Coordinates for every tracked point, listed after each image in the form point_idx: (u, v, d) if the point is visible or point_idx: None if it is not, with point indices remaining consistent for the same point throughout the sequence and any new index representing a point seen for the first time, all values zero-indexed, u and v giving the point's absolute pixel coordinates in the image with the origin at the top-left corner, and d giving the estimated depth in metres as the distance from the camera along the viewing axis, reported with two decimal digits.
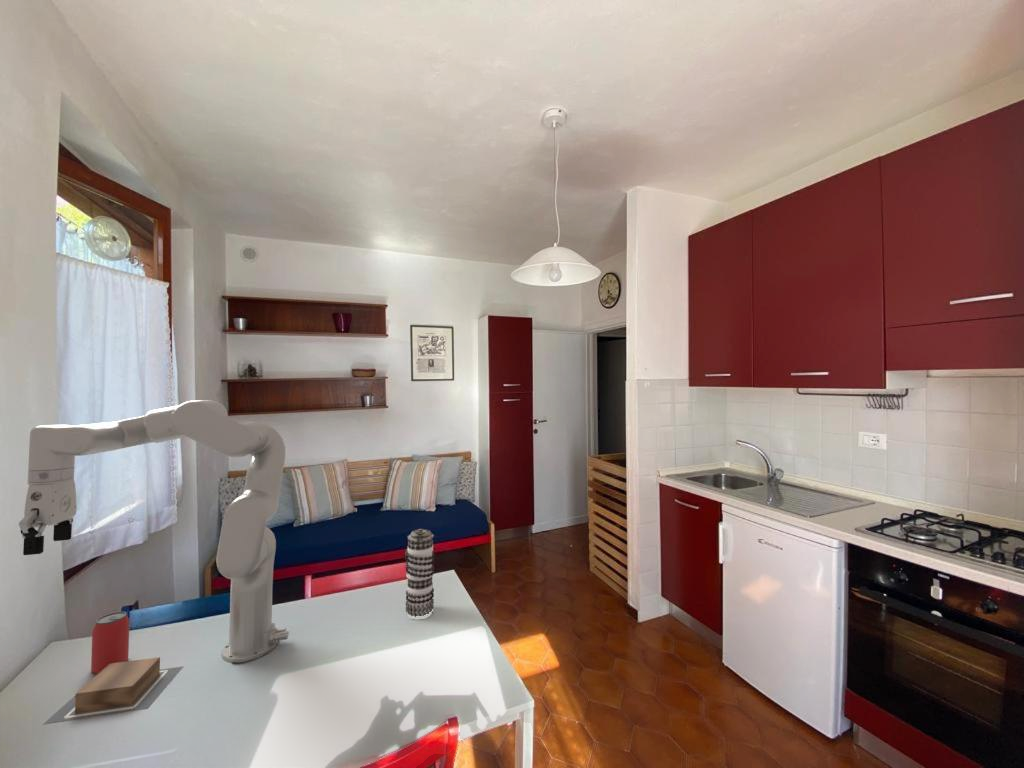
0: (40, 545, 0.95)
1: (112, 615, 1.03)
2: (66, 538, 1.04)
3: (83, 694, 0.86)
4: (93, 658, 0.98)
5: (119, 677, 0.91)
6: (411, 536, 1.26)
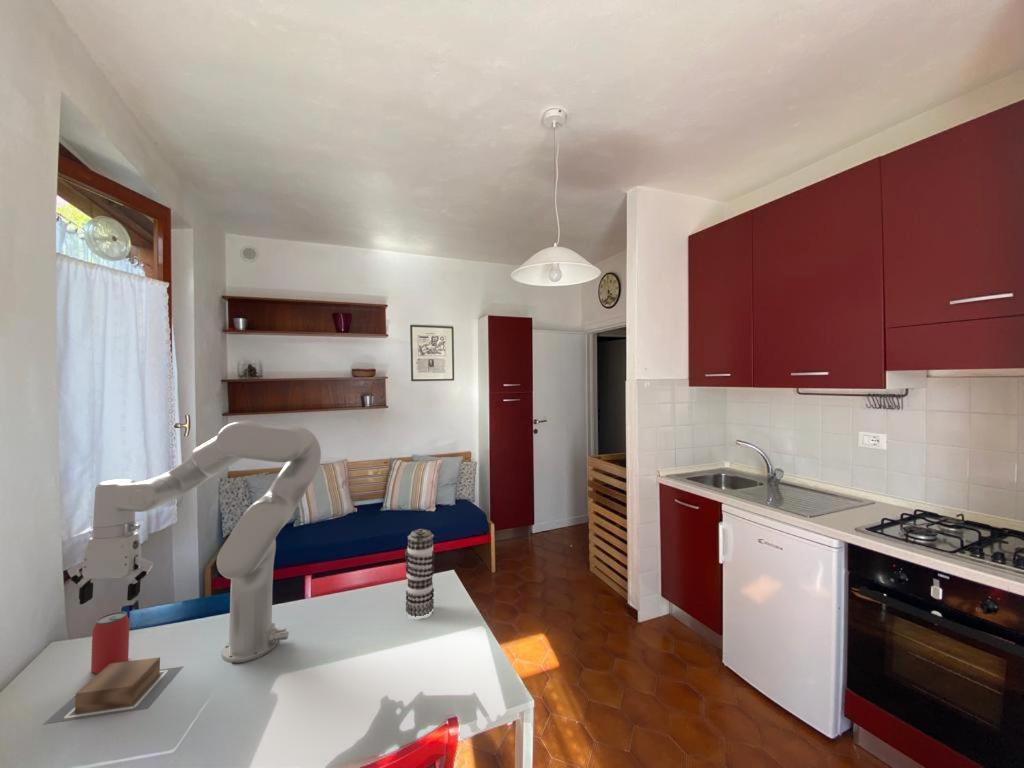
0: None
1: (112, 615, 1.03)
2: (91, 597, 1.02)
3: (83, 694, 0.86)
4: (93, 658, 0.98)
5: (119, 677, 0.91)
6: (411, 536, 1.26)
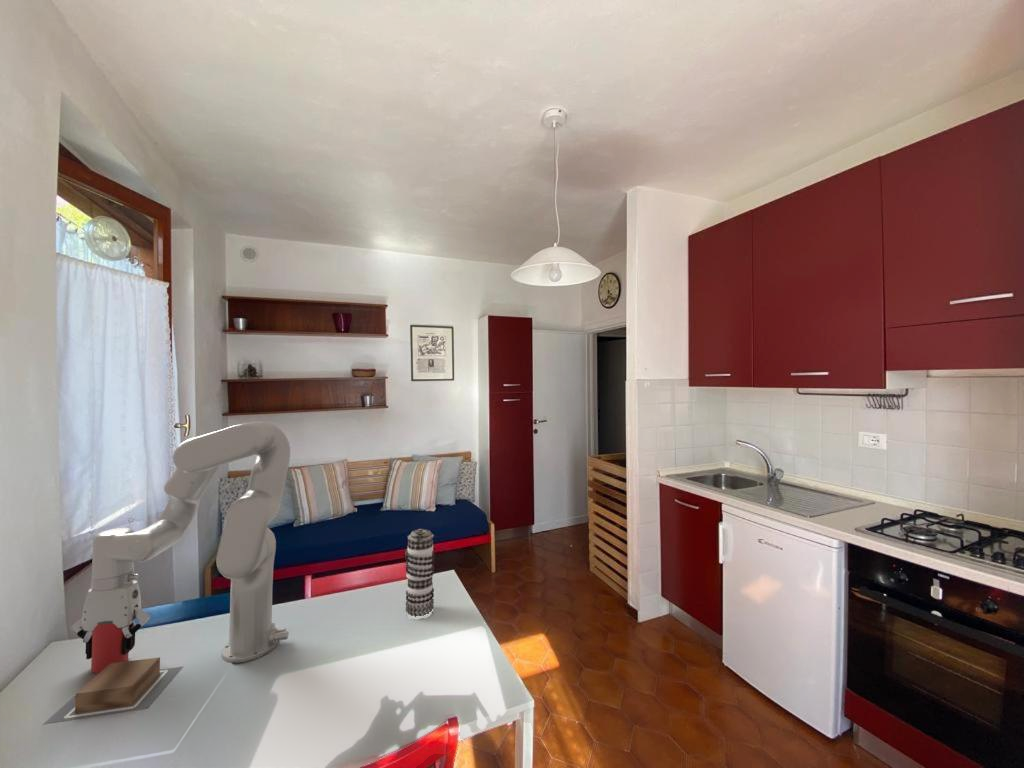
0: None
1: None
2: None
3: (83, 694, 0.86)
4: (93, 658, 0.98)
5: (119, 677, 0.91)
6: (411, 536, 1.26)
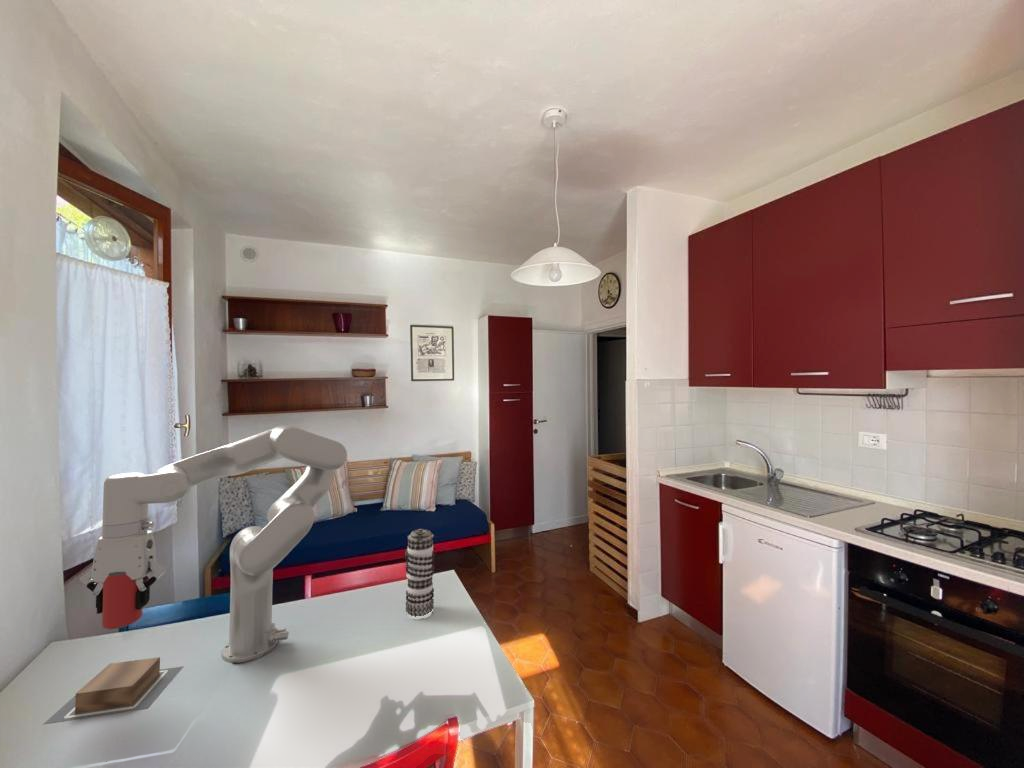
0: None
1: None
2: None
3: (83, 694, 0.86)
4: (104, 612, 0.89)
5: (119, 677, 0.91)
6: (411, 536, 1.26)
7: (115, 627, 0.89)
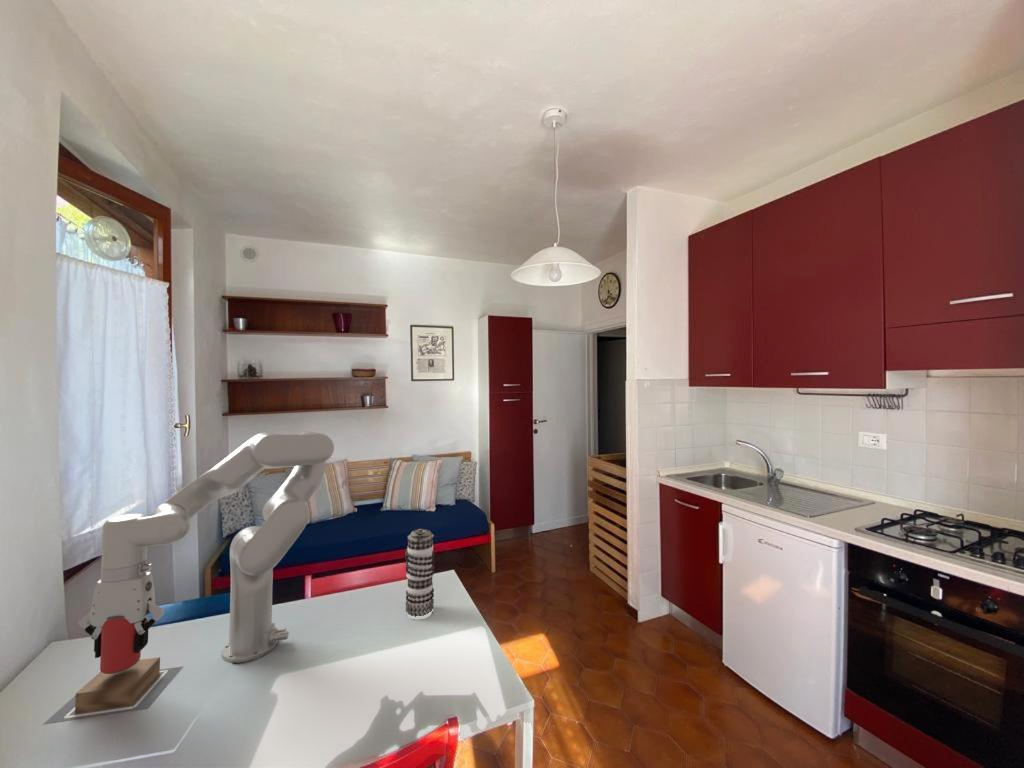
0: None
1: None
2: None
3: (83, 694, 0.86)
4: (102, 657, 0.89)
5: (119, 677, 0.91)
6: (411, 536, 1.26)
7: (113, 672, 0.89)
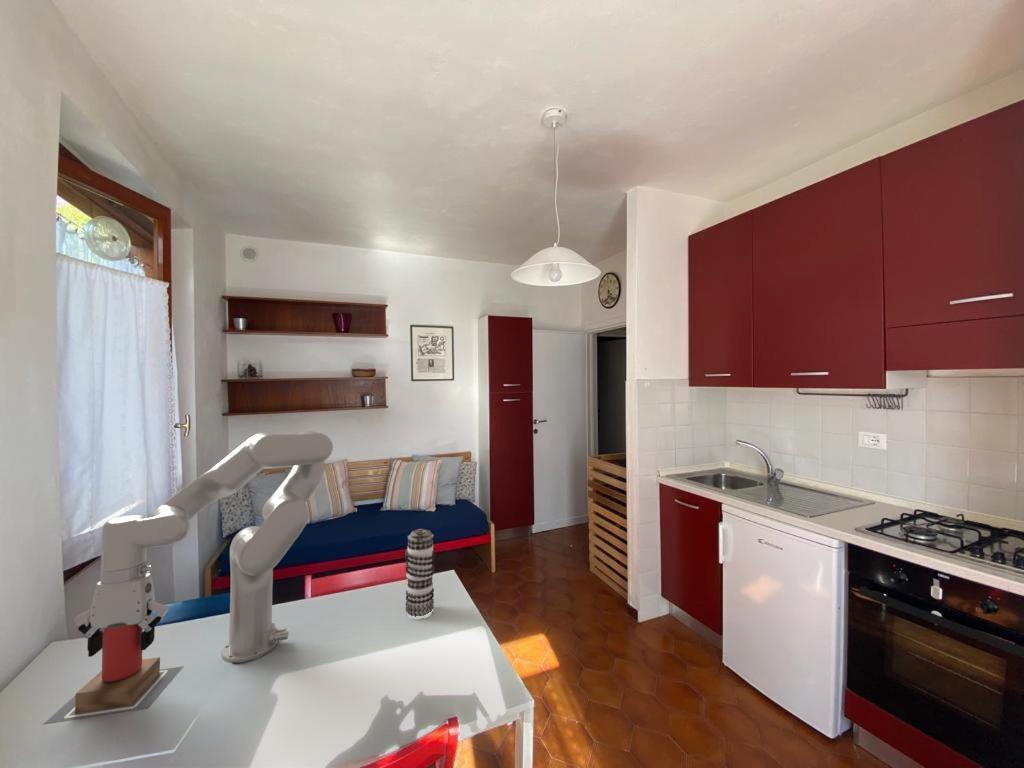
0: None
1: None
2: (101, 647, 0.92)
3: (83, 694, 0.86)
4: (103, 665, 0.89)
5: None
6: (411, 536, 1.26)
7: (114, 680, 0.89)
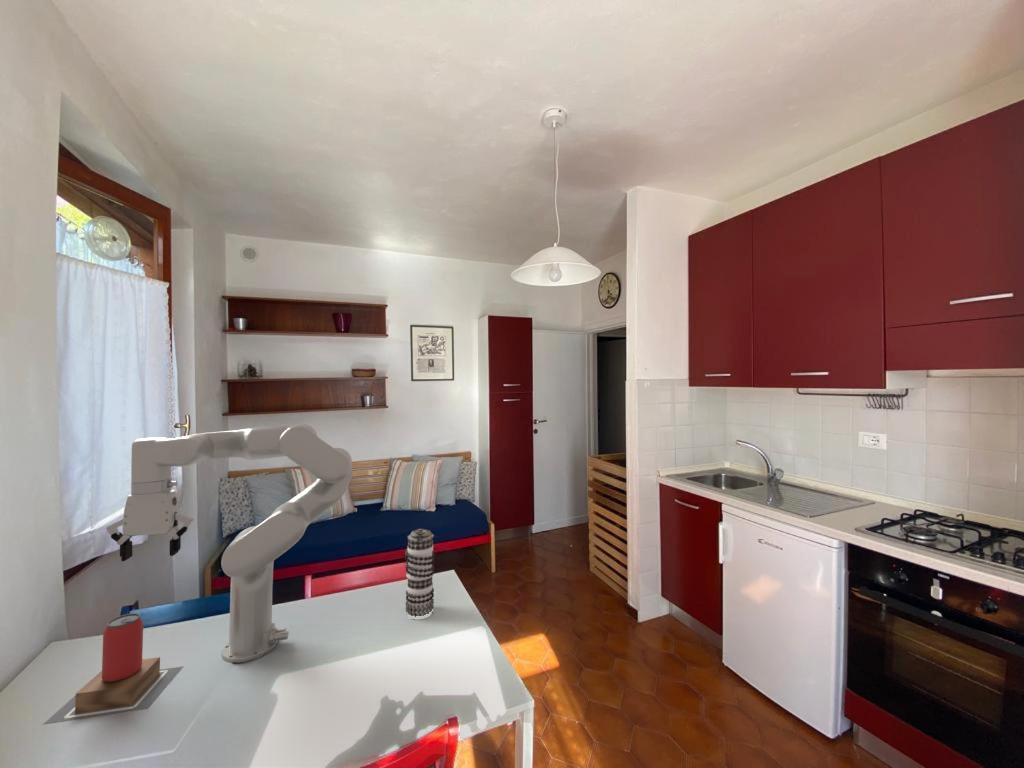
0: None
1: (125, 617, 0.94)
2: (131, 555, 1.02)
3: (83, 694, 0.86)
4: (104, 665, 0.89)
5: None
6: (411, 536, 1.26)
7: (114, 680, 0.89)
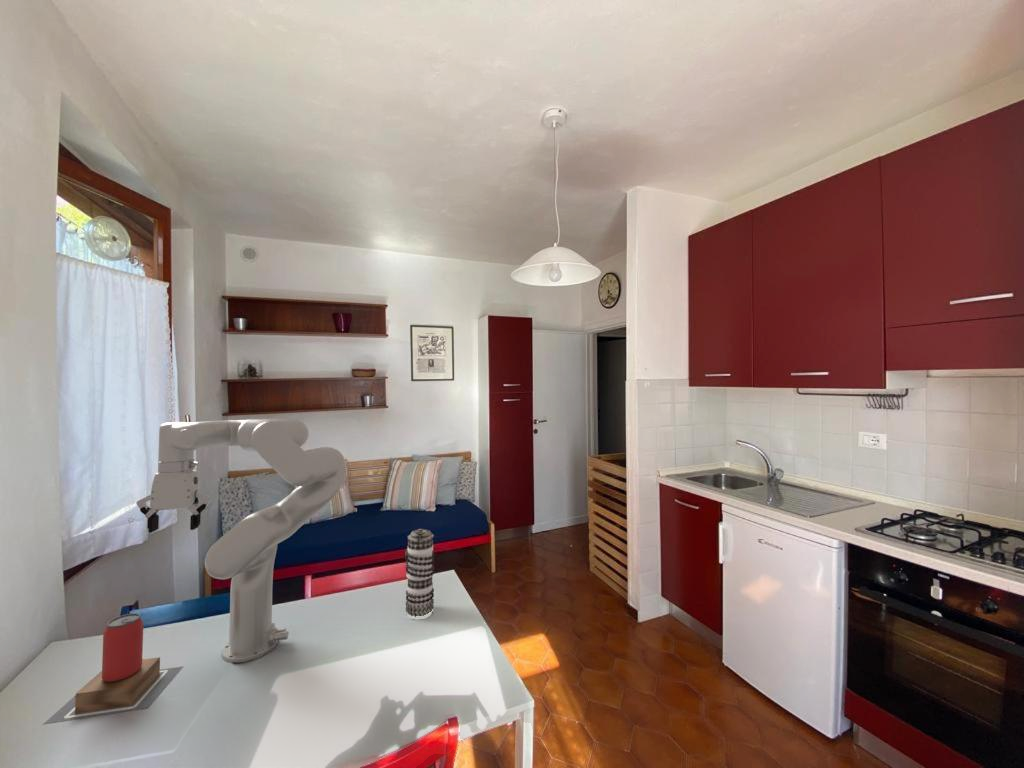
0: None
1: (125, 617, 0.94)
2: (157, 528, 1.12)
3: (83, 694, 0.86)
4: (104, 665, 0.89)
5: None
6: (411, 536, 1.26)
7: (114, 680, 0.89)
